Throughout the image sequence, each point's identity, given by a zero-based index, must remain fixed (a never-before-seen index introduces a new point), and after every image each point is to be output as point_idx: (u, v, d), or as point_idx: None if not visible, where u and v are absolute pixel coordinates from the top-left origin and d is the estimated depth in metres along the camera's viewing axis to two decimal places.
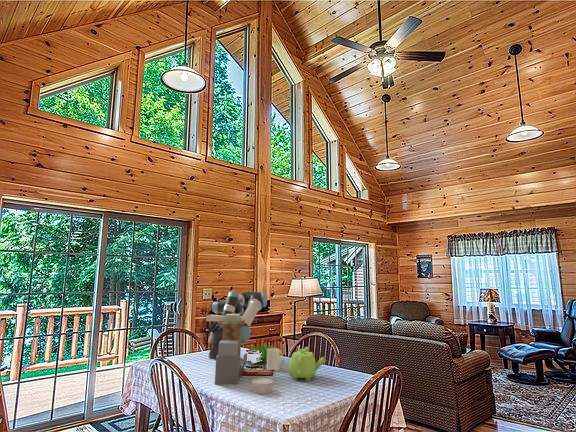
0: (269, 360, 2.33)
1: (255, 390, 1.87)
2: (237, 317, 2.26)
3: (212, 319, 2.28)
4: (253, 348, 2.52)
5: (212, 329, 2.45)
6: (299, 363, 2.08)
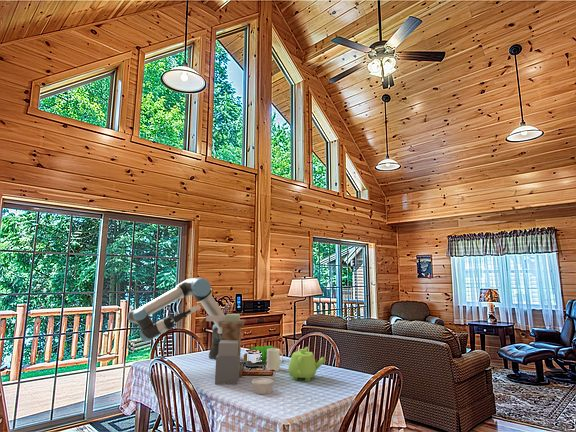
0: (269, 360, 2.33)
1: (255, 390, 1.87)
2: (237, 317, 2.26)
3: (212, 319, 2.28)
4: (253, 348, 2.52)
5: None
6: (299, 363, 2.08)
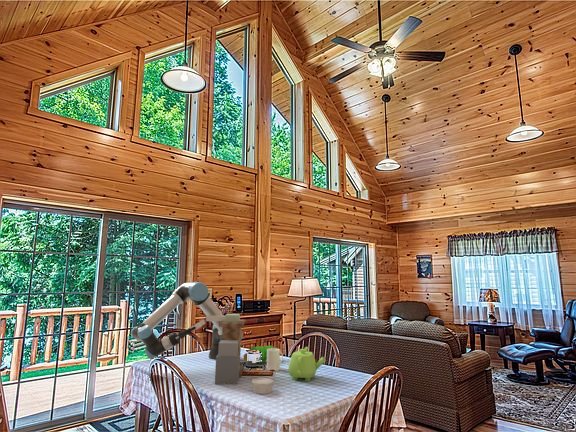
0: (269, 360, 2.33)
1: (255, 390, 1.87)
2: (237, 317, 2.26)
3: (212, 319, 2.28)
4: (253, 348, 2.52)
5: None
6: (299, 363, 2.08)
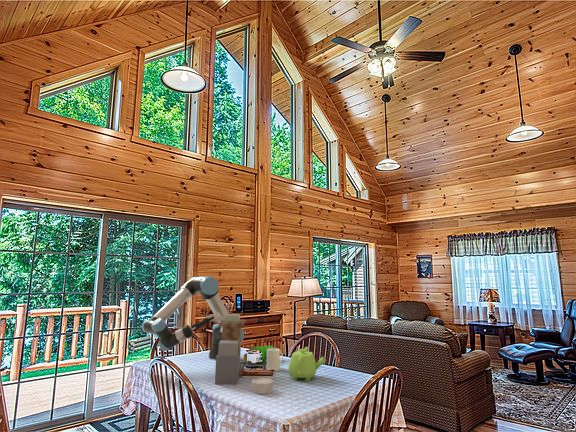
0: (269, 360, 2.33)
1: (255, 390, 1.87)
2: (237, 317, 2.26)
3: None
4: (253, 348, 2.52)
5: None
6: (299, 363, 2.08)
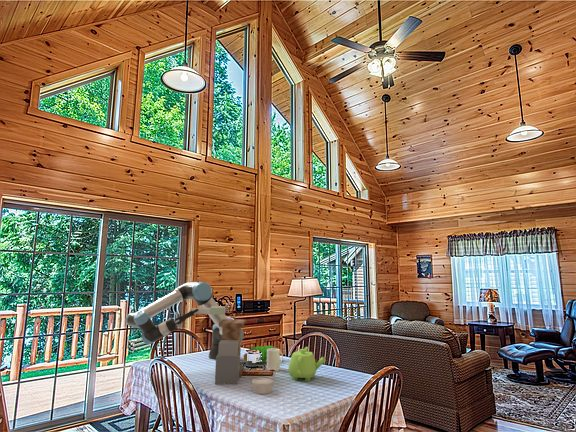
0: (269, 360, 2.33)
1: (255, 390, 1.87)
2: (222, 309, 2.20)
3: None
4: (253, 348, 2.52)
5: (192, 315, 2.26)
6: (299, 363, 2.08)
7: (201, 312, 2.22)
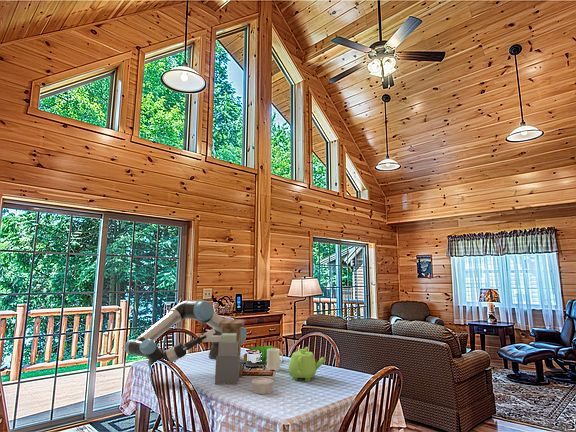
0: (269, 360, 2.33)
1: (255, 390, 1.87)
2: (234, 337, 2.07)
3: (206, 339, 2.09)
4: (253, 348, 2.52)
5: None
6: (299, 363, 2.08)
7: (211, 340, 2.09)
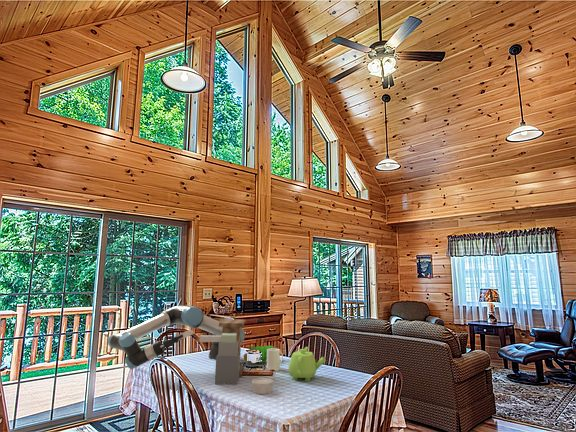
0: (269, 360, 2.33)
1: (255, 390, 1.87)
2: (234, 337, 2.07)
3: (206, 339, 2.09)
4: (253, 348, 2.52)
5: None
6: (299, 363, 2.08)
7: (211, 340, 2.09)
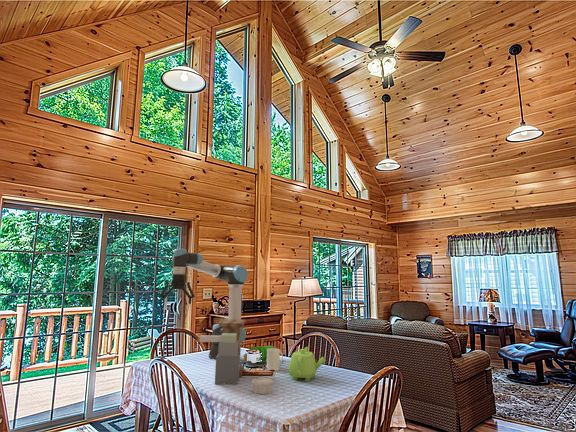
0: (269, 360, 2.33)
1: (255, 390, 1.87)
2: (234, 337, 2.07)
3: (206, 339, 2.09)
4: (253, 348, 2.52)
5: (165, 295, 2.27)
6: (299, 363, 2.08)
7: (211, 340, 2.09)
